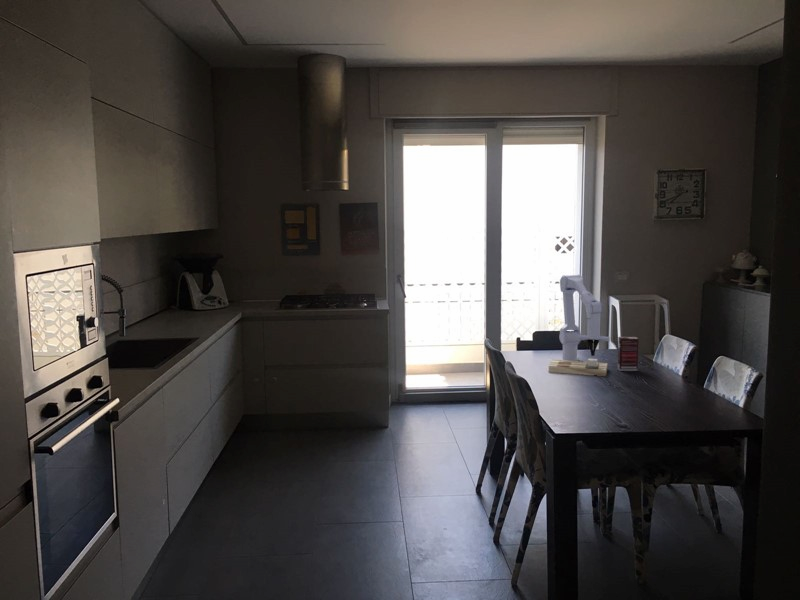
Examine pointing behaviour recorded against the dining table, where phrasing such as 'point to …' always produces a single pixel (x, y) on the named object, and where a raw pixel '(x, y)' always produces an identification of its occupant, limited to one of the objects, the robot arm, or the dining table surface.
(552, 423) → the dining table surface
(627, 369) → the supplement box
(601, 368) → the socket block
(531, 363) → the dining table surface
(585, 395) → the dining table surface
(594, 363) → the plug
